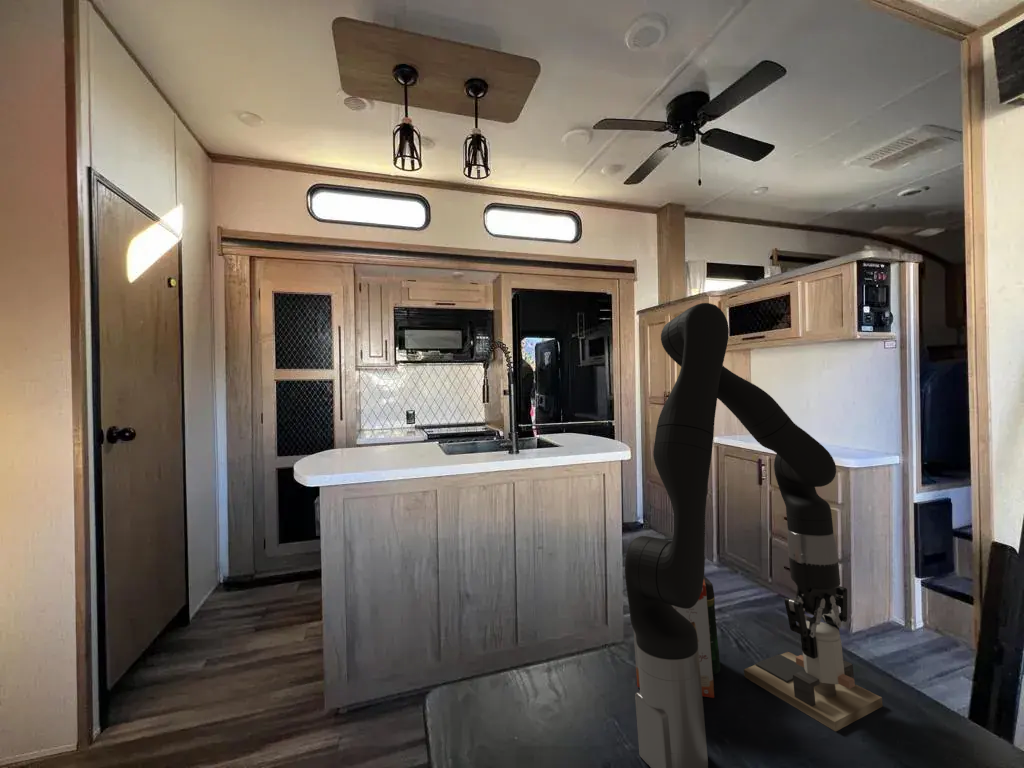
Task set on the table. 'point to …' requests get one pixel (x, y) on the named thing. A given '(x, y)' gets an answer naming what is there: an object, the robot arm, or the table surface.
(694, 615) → the cracker box
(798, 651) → the table surface
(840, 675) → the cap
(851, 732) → the table surface
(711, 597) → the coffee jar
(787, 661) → the mat
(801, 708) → the bulb mounting plate
